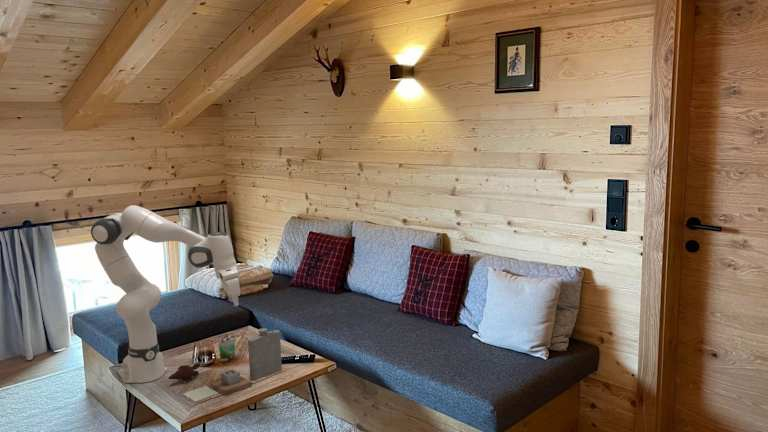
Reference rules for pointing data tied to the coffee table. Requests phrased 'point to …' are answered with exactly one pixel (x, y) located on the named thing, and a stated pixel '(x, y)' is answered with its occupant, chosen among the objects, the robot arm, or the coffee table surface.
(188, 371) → the icecream
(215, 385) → the peg stand
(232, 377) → the collar
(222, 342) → the food container
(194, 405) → the coffee table surface
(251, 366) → the hip flask
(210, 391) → the pad
